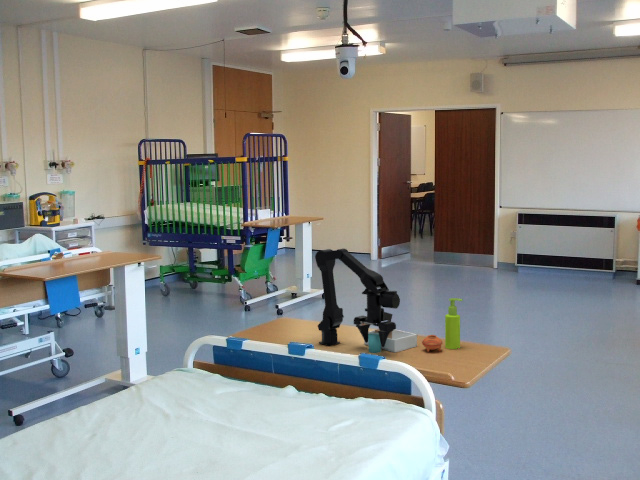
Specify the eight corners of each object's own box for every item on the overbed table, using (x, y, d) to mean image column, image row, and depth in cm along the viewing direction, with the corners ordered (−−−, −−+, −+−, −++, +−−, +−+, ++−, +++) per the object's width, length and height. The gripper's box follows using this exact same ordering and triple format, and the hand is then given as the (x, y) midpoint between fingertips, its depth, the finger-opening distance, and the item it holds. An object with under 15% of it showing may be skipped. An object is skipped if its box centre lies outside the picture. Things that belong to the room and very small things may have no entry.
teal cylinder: (366, 351, 258) (365, 334, 257) (375, 349, 261) (374, 332, 260) (374, 353, 254) (374, 336, 253) (383, 351, 257) (383, 334, 256)
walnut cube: (383, 343, 265) (383, 332, 265) (375, 341, 269) (374, 329, 269) (392, 341, 269) (391, 329, 268) (383, 339, 272) (383, 327, 272)
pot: (443, 347, 260) (443, 332, 258) (440, 357, 253) (440, 341, 251) (424, 345, 262) (423, 330, 260) (420, 355, 255) (420, 339, 253)
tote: (364, 344, 268) (364, 332, 268) (386, 338, 277) (386, 327, 276) (394, 352, 255) (394, 340, 255) (417, 346, 264) (416, 334, 263)
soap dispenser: (462, 349, 257) (462, 300, 255) (445, 348, 259) (445, 299, 257) (462, 345, 263) (462, 297, 261) (445, 345, 264) (445, 297, 262)
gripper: (405, 306, 254) (405, 345, 255) (372, 300, 268) (372, 336, 269) (385, 310, 247) (386, 350, 248) (352, 303, 261) (353, 341, 262)
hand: (374, 344), depth 257 cm, fingers open, 9 cm apart
